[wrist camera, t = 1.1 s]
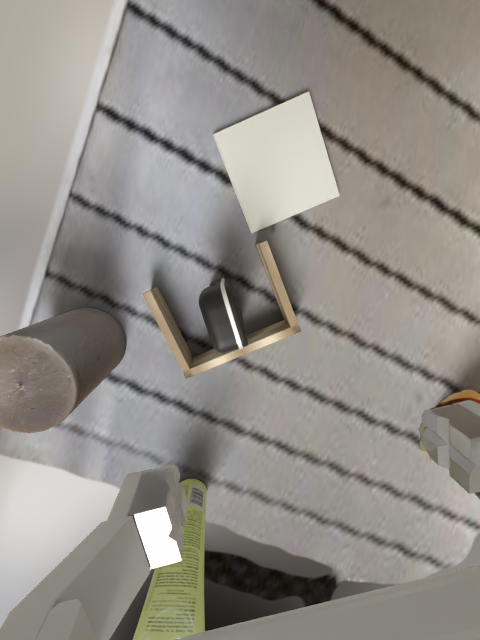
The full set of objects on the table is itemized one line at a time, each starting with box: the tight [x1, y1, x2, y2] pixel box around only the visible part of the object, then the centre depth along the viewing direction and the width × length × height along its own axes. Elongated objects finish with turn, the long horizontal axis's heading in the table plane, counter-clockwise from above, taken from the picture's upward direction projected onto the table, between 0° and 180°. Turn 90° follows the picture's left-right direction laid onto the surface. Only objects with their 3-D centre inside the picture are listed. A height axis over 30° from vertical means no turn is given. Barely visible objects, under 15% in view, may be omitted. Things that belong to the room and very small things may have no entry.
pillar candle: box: [0, 308, 126, 433], centre depth 31 cm, size 10×10×15 cm
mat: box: [213, 92, 340, 234], centre depth 34 cm, size 12×12×1 cm
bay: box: [143, 241, 301, 378], centre depth 36 cm, size 16×12×4 cm
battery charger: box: [199, 278, 249, 353], centre depth 32 cm, size 7×4×11 cm, turn 16°
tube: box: [133, 479, 207, 640], centre depth 36 cm, size 6×5×20 cm
